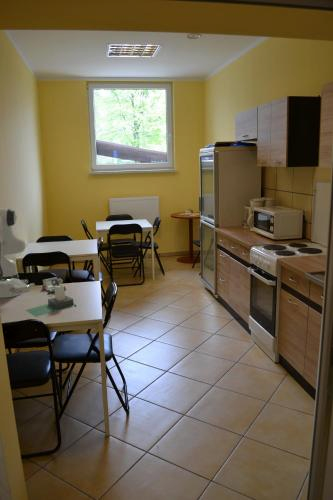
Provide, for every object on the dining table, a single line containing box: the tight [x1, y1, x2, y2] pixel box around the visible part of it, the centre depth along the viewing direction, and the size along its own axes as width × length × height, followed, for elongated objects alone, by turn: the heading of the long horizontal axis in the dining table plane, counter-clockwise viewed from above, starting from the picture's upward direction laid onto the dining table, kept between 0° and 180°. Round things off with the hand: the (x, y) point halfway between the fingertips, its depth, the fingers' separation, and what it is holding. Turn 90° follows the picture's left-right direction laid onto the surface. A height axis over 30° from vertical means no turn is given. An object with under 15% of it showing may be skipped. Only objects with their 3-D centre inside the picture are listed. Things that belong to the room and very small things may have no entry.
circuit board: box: [25, 303, 77, 317], centre depth 243 cm, size 15×26×1 cm, turn 131°
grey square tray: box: [47, 294, 75, 309], centre depth 247 cm, size 11×11×4 cm
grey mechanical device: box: [41, 277, 67, 294], centre depth 279 cm, size 18×10×12 cm
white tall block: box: [54, 280, 66, 302], centre depth 245 cm, size 4×4×16 cm
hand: (30, 282), depth 236 cm, fingers open, 8 cm apart
